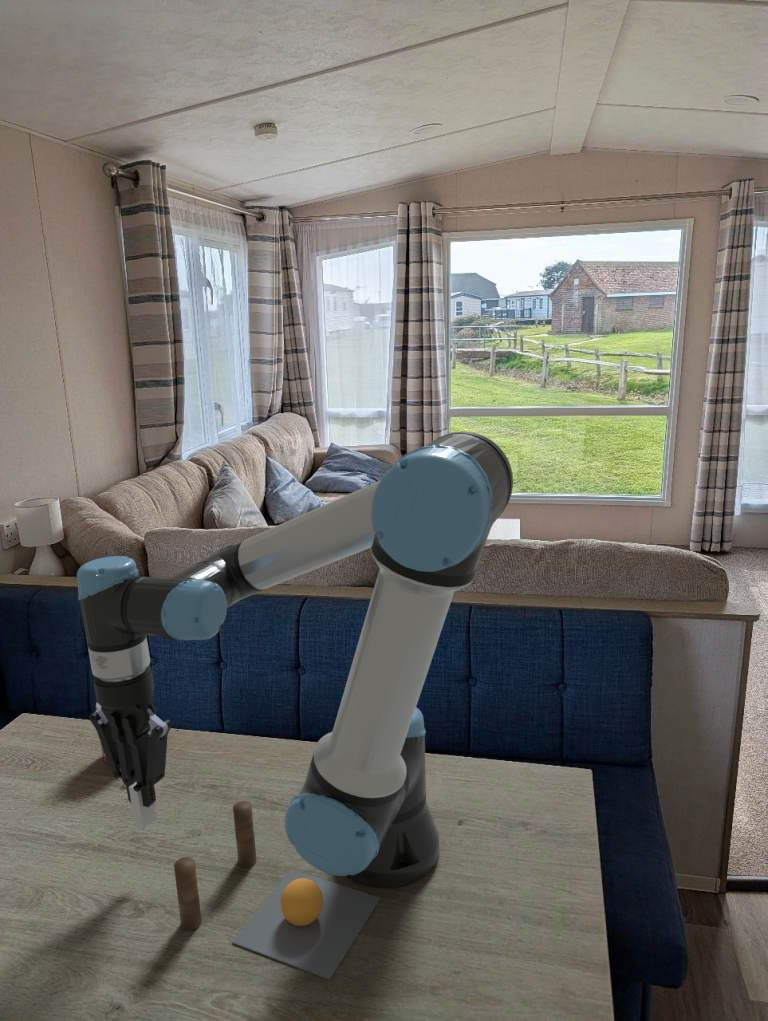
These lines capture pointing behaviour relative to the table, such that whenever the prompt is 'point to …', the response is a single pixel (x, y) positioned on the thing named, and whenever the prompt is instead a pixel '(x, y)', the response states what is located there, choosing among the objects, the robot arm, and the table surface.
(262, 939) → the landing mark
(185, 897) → the front post
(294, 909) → the ball
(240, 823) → the post
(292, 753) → the table surface
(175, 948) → the table surface
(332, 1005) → the table surface
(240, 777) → the table surface
